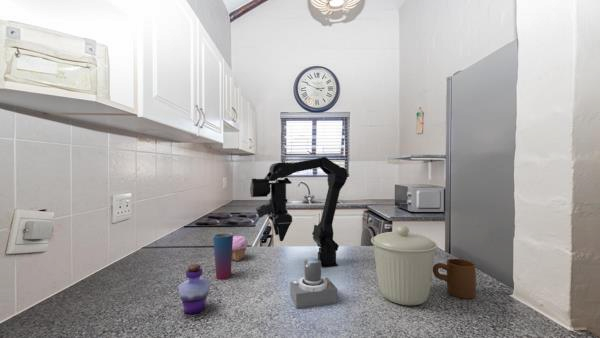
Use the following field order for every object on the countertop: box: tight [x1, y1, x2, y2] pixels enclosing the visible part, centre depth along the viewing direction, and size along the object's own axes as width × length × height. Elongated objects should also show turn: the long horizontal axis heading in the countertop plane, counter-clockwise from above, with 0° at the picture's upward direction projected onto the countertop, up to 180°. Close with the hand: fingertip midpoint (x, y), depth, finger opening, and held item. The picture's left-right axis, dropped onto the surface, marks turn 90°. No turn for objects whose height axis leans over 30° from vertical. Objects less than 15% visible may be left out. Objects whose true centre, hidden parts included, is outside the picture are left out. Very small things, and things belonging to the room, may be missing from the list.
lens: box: [304, 258, 322, 286], centre depth 78 cm, size 5×5×7 cm
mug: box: [432, 258, 477, 300], centre depth 81 cm, size 12×8×9 cm, turn 85°
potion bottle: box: [177, 263, 211, 316], centre depth 73 cm, size 9×9×12 cm
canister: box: [370, 225, 438, 306], centre depth 79 cm, size 18×18×21 cm
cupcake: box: [232, 235, 248, 262], centre depth 114 cm, size 9×9×10 cm
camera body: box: [289, 276, 338, 310], centre depth 78 cm, size 12×8×5 cm
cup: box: [212, 232, 234, 281], centre depth 95 cm, size 7×7×15 cm
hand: (279, 237), depth 99 cm, fingers open, 9 cm apart
